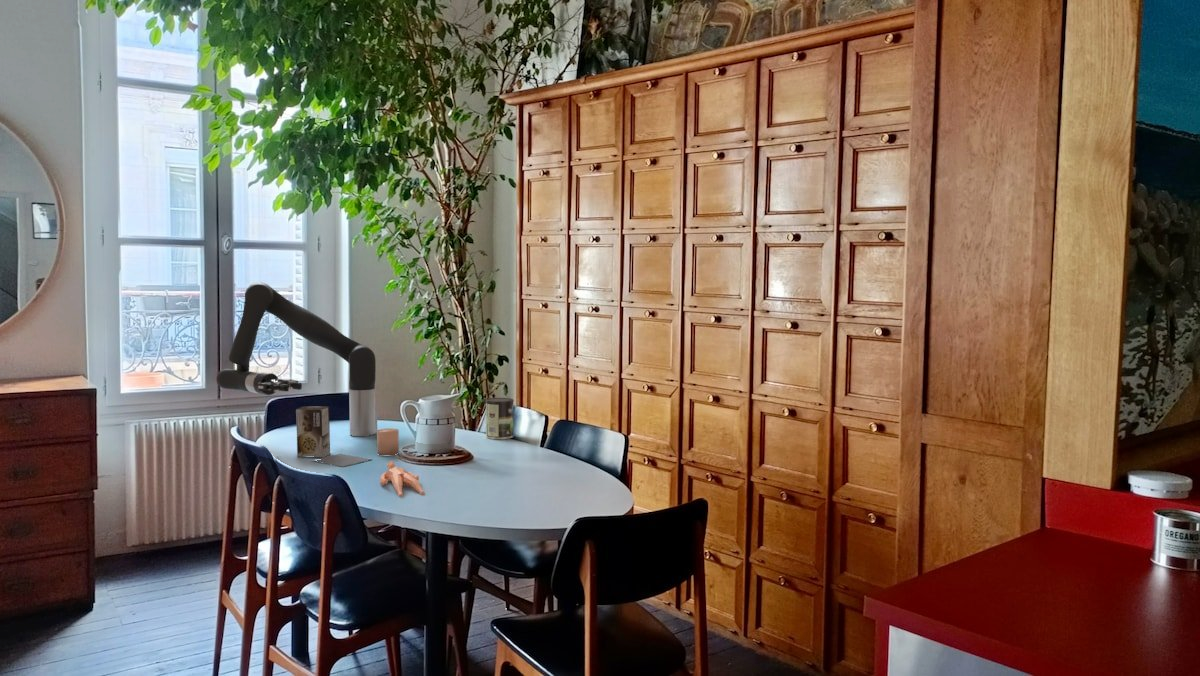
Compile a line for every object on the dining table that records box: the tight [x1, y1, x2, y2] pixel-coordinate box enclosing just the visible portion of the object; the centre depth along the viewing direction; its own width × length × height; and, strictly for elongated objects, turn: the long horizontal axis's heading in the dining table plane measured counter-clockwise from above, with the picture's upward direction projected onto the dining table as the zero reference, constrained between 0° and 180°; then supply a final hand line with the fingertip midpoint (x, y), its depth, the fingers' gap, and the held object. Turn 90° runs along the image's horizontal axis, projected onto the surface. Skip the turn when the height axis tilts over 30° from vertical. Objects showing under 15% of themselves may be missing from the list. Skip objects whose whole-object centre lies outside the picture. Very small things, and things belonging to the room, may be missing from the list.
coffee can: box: [485, 397, 514, 440], centre depth 321 cm, size 10×10×14 cm
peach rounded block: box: [376, 427, 400, 456], centre depth 291 cm, size 7×7×8 cm
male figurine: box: [379, 460, 425, 498], centre depth 250 cm, size 11×5×25 cm
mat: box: [317, 453, 372, 468], centre depth 280 cm, size 12×15×1 cm
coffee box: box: [295, 405, 331, 458], centre depth 287 cm, size 9×6×16 cm
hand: (294, 387), depth 290 cm, fingers open, 4 cm apart
